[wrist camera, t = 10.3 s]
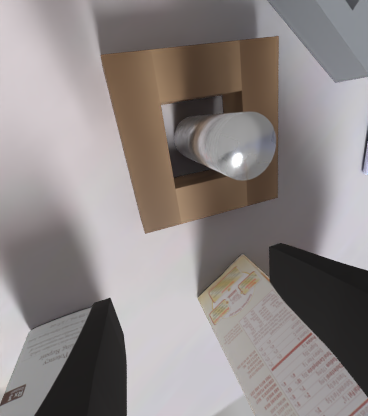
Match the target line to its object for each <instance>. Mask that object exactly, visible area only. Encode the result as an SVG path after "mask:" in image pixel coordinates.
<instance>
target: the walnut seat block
mask: <svg viewBox="0 0 368 416" xmlns="http://www.w3.org/2000/svg"><path fill="white" fill-rule="evenodd" d="M278 57H279V36H275V37H265V38H256V39H246V40H237V41H227V42H218V43H208V44H199V45H189V46H180V47H170V48H161V49H151V50H142V51H132V52H123V53H113V54H104V55H101V60H102V66H103V70H104V74H105V78H106V82H107V86H108V90H109V94H110V98H111V102H112V106H113V110H114V114H115V118H116V122H117V126H118V130H119V134H120V138H121V142H122V146H123V150H124V154H125V158H126V162H127V166H128V170H129V174H130V178H131V182H132V186H133V190H134V194H135V198H136V202H137V206H138V210H139V214H140V218H141V221H142V224H143V228H144V231H145V234H146V233H150V232H153V231H157V230H161V229H164V228H168V227H172V226H175V225H179V224H183V223H186V222H190V221H194V220H197V219H201V218H205V217H208V216H212V215H216V214H219V213H223V212H227V211H231V210H234V209H238V208H242V207H245V206H249V205H253V204H256V203H260V202H264V201H267V200H271V199H275V198H278ZM221 95H222V99H223V112H224V114H225V113H238V112H257V113H260V114H262V115H263V116H265V117H266V118H267V119H268V120H269V121H270V122H271V124H272V125H273V128H274V130H275V134H276V149H275V153H274V156H273V159H272V160H271V162H270V164H269V166H268V167H267V168H266V169H265V170H264V171H263V172H262V173H261V174H260V175H258V176H257V177H255V178H253V179H250V180H242V181H241V180H235V179H233V178H231V177H228V176H226V175H224V174H222V173H220V172H218V171H215V170H213V169H210V170H205V171H201V172H197V173H192V174H188V175H183V176H179V177H175V178H173V172H172V166H171V161H170V155H169V149H168V144H167V138H166V132H165V127H164V121H163V115H162V110H161V105H164V104H170V103H177V102H183V101H190V100H196V99H202V98H209V97H215V96H221Z"/></svg>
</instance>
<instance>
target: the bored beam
mask: <svg viewBox="0 0 368 416" xmlns="http://www.w3.org/2000/svg"><path fill="white" fill-rule="evenodd" d="M268 1H269V3H270V4H271V5H272V6H273V8H274V9H275V10H276V11H277V12H278V14H279V15H280V16H281V17H282V18H283V20H284V21H285V22H286V23H287V25H288V26H289V27H290V28H291V29H292V31H293V32H294V33H295V34H296V36H297V37H298V38H299V39H300V40H301V42H302V43H303V44H304V45H305V46H306V48H307V49H308V50H309V51H310V53H311V54H312V55H313V56H314V57H315V59H316V60H317V61H318V62H319V63H320V65H321V66H322V67H323V68H324V70H325V71H326V72H327V73H328V74H329V76H330V77H331V78H332V79H333V81H334V82H335V83H337V82H342V81H348V80H353V79H359V78H364V77H368V0H268Z"/></svg>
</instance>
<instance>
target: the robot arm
mask: <svg viewBox="0 0 368 416" xmlns="http://www.w3.org/2000/svg"><path fill="white" fill-rule="evenodd" d="M363 173H364V174H365V175H368V143H367V150H366V156H365V163H364V169H363ZM269 267H270V283H271V285H272V286H273V287H274V289H275V290H276V292H277V293H278V294H279V296H280V297H281V298H282V300H283V301H284V302H285V303H286V304H287V305H288V306H289V307H290V308H291V309H292V311H293V312H294V313H295V314H296V315H297V316H298V317H299V318H300V319H301V320H302V321H303V322H304V323H305V324H306V325H307V326H308V327H309V328H310V329H311V330H312V332H313V333H314V334H315V335H316V336H317V337H318V338H319V339H320V340H321V341H322V342H323V343H324V344H325V345H326V346H327V347H328V349H329V350H330V351H331V352H332V353H333V354H334V355H335V357H336V358H337V359H338V360H339V362H340V363H341V364H342V365H343V367H344V368H345V369H346V370H347V371H348V373H349V374H350V375H351V376H352V378H353V379H354V380H355V382H356V383H357V384H358V385H359V387H360V388H361V389H362V391H363V392H364V393H365V395H366V396H367V397H368V271H367V270H364V269H360V268H357V267H353V266H350V265H347V264H343V263H340V262H337V261H334V260H331V259H328V258H325V257H322V256H319V255H316V254H313V253H310V252H307V251H304V250H301V249H298V248H295V247H292V246H289V245H286V244H282V243H280V244H277V245H274V246H270V247H269ZM34 416H127V364H126V351H125V342H124V334H123V331H122V328H121V326H120V323H119V320H118V317H117V315H116V312H115V309H114V306H113V304H112V301H111V298H108V299H105V300H102V301H98V302H95V303H94V304H93V306H92V308H91V310H90V313H89V315H88V317H87V319H86V322H85V324H84V326H83V328H82V330H81V332H80V334H79V336H78V338H77V340H76V342H75V344H74V346H73V348H72V350H71V352H70V354H69V356H68V358H67V360H66V362H65V364H64V365H63V367H62V369H61V371H60V373H59V374H58V376H57V378H56V380H55V382H54V383H53V385H52V387H51V389H50V390H49V392H48V394H47V395H46V397H45V399H44V400H43V402H42V404H41V405H40V407H39V409H38V410H37V412H36V413H35V415H34Z"/></svg>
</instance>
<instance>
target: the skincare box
mask: <svg viewBox="0 0 368 416" xmlns="http://www.w3.org/2000/svg"><path fill="white" fill-rule="evenodd" d="M91 308H92V307H91ZM91 308H88V309H85V310H82V311H79V312H76V313H73V314H70V315H67V316H64V317H62V318H59V319H56V320H54V321H51V322H49V323H46V324H44V325H41V326H39V327H36V328H34V329H33V330H31V331H30V332H29V333H28V336H27V338H26V341H25V343H24V346H23V349H22V351H21V353H20V356H19V358H18V361H17V363H16V366H15V368H14V371H13V373H12V376H11V378H10V381H9V383H8V386H7V388H6V391H5V393H4V396H3V398H2V401H1V404H0V416H34V415H35V413H36V412H37V410H38V409H39V407H40V405H41V404H42V402H43V400H44V399H45V397H46V395H47V394H48V392H49V390H50V389H51V387H52V385H53V383H54V382H55V380H56V378H57V376H58V374H59V373H60V371H61V369H62V367H63V365H64V364H65V362H66V360H67V358H68V356H69V354H70V352H71V350H72V348H73V346H74V344H75V342H76V340H77V338H78V336H79V334H80V332H81V330H82V328H83V326H84V324H85V322H86V319H87V317H88V315H89V313H90V310H91Z"/></svg>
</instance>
